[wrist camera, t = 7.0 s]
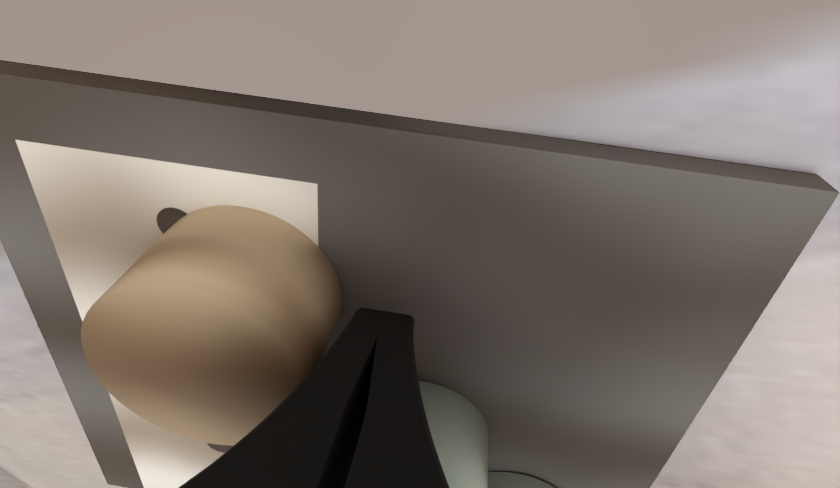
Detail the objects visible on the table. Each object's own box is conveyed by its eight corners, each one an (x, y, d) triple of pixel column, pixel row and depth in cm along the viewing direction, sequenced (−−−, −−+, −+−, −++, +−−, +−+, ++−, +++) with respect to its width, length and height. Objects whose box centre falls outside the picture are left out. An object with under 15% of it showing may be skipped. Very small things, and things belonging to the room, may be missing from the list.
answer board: (590, 552, 20) (593, 575, 19) (123, 472, 21) (110, 491, 20) (817, 174, 11) (840, 193, 10) (-45, 54, 11) (-79, 63, 11)
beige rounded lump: (335, 367, 14) (302, 462, 12) (170, 333, 14) (104, 421, 12) (349, 228, 12) (312, 314, 9) (147, 186, 12) (55, 260, 9)
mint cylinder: (475, 480, 17) (471, 605, 14) (344, 458, 17) (312, 576, 14) (501, 394, 14) (503, 523, 11) (347, 368, 14) (309, 489, 11)
